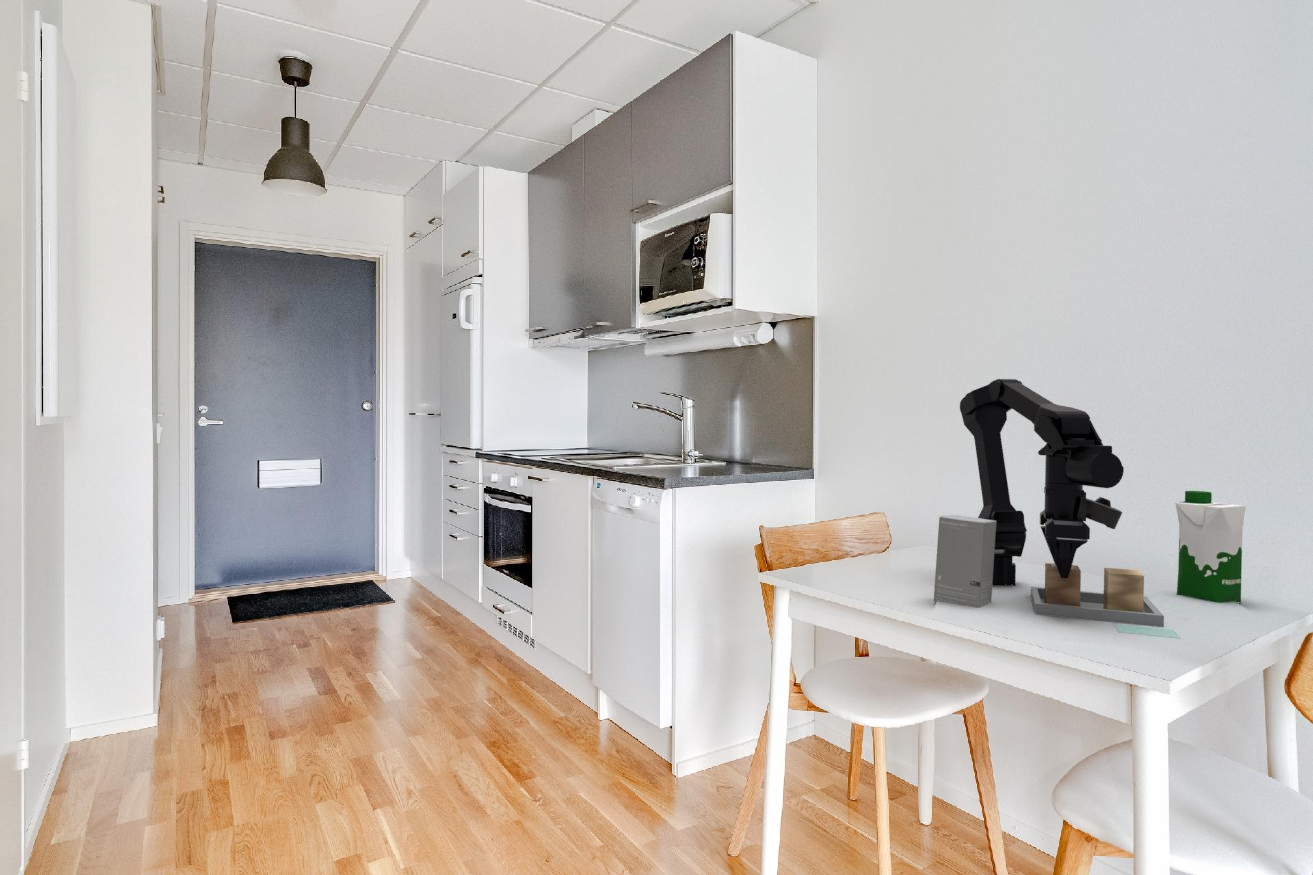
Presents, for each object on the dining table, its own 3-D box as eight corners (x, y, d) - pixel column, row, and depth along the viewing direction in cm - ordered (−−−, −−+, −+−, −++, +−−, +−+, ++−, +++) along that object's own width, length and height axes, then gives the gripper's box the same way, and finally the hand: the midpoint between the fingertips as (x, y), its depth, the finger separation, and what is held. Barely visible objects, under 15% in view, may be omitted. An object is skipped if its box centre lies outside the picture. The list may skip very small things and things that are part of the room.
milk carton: (1197, 593, 142) (1199, 489, 142) (1250, 604, 134) (1253, 494, 133) (1168, 597, 139) (1170, 491, 138) (1221, 608, 130) (1223, 495, 130)
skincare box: (933, 604, 132) (934, 516, 132) (948, 597, 138) (949, 512, 137) (981, 612, 127) (983, 520, 126) (995, 605, 132) (997, 517, 132)
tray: (1034, 618, 123) (1035, 603, 123) (1030, 600, 136) (1030, 586, 136) (1163, 631, 116) (1163, 615, 116) (1146, 610, 128) (1146, 596, 128)
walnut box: (1046, 608, 126) (1047, 567, 126) (1044, 602, 131) (1045, 562, 131) (1080, 612, 124) (1080, 569, 124) (1076, 605, 129) (1077, 564, 129)
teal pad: (1118, 636, 113) (1118, 631, 113) (1113, 628, 117) (1113, 623, 117) (1181, 643, 109) (1181, 638, 109) (1173, 634, 114) (1173, 629, 114)
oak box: (1107, 614, 123) (1108, 572, 123) (1103, 607, 127) (1104, 567, 127) (1143, 618, 121) (1144, 575, 120) (1137, 611, 125) (1138, 570, 125)
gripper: (1127, 489, 115) (1125, 588, 116) (1110, 480, 132) (1108, 567, 133) (1047, 486, 120) (1045, 581, 120) (1040, 478, 137) (1038, 562, 137)
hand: (1062, 572), depth 128 cm, fingers open, 9 cm apart
